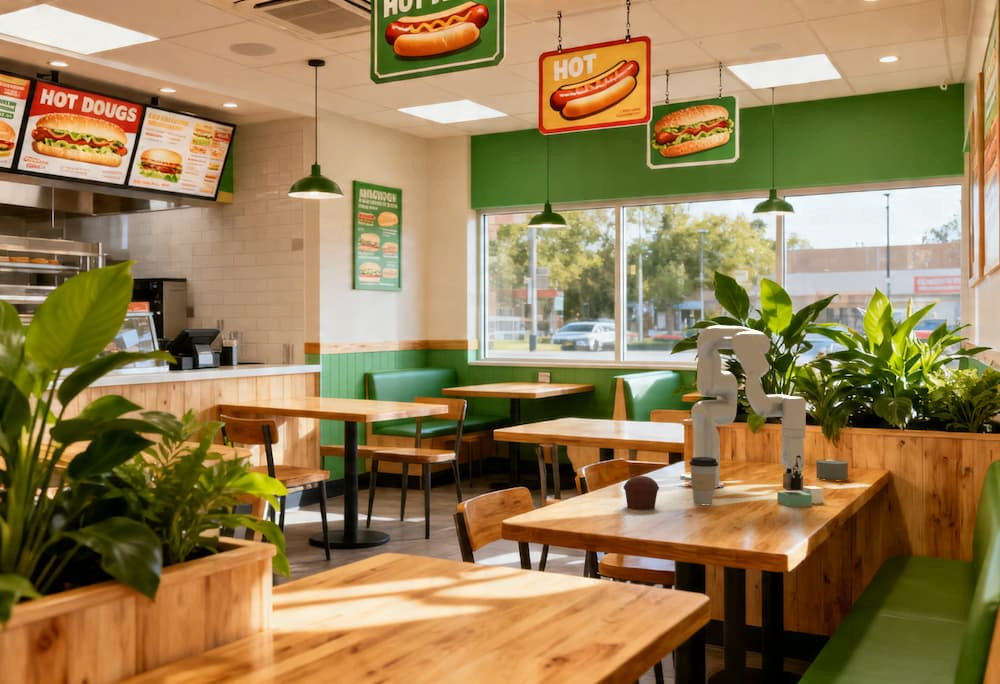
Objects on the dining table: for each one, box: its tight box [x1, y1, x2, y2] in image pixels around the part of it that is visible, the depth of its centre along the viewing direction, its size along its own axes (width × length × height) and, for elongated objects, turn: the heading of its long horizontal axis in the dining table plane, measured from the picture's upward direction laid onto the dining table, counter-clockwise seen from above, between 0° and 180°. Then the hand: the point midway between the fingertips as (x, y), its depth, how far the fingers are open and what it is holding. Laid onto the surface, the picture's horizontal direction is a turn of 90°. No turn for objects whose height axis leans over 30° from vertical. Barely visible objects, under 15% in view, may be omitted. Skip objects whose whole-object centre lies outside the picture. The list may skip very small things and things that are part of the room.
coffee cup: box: [689, 456, 718, 505], centre depth 311 cm, size 9×9×15 cm
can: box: [815, 458, 849, 481], centre depth 367 cm, size 12×12×7 cm
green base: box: [776, 490, 813, 508], centre depth 312 cm, size 8×8×4 cm
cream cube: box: [801, 485, 824, 504], centre depth 316 cm, size 5×5×5 cm
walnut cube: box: [782, 472, 804, 492], centre depth 312 cm, size 5×5×5 cm
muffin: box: [623, 475, 660, 511], centre depth 304 cm, size 12×11×10 cm
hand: (792, 487), depth 312 cm, fingers closed on walnut cube, 5 cm apart
